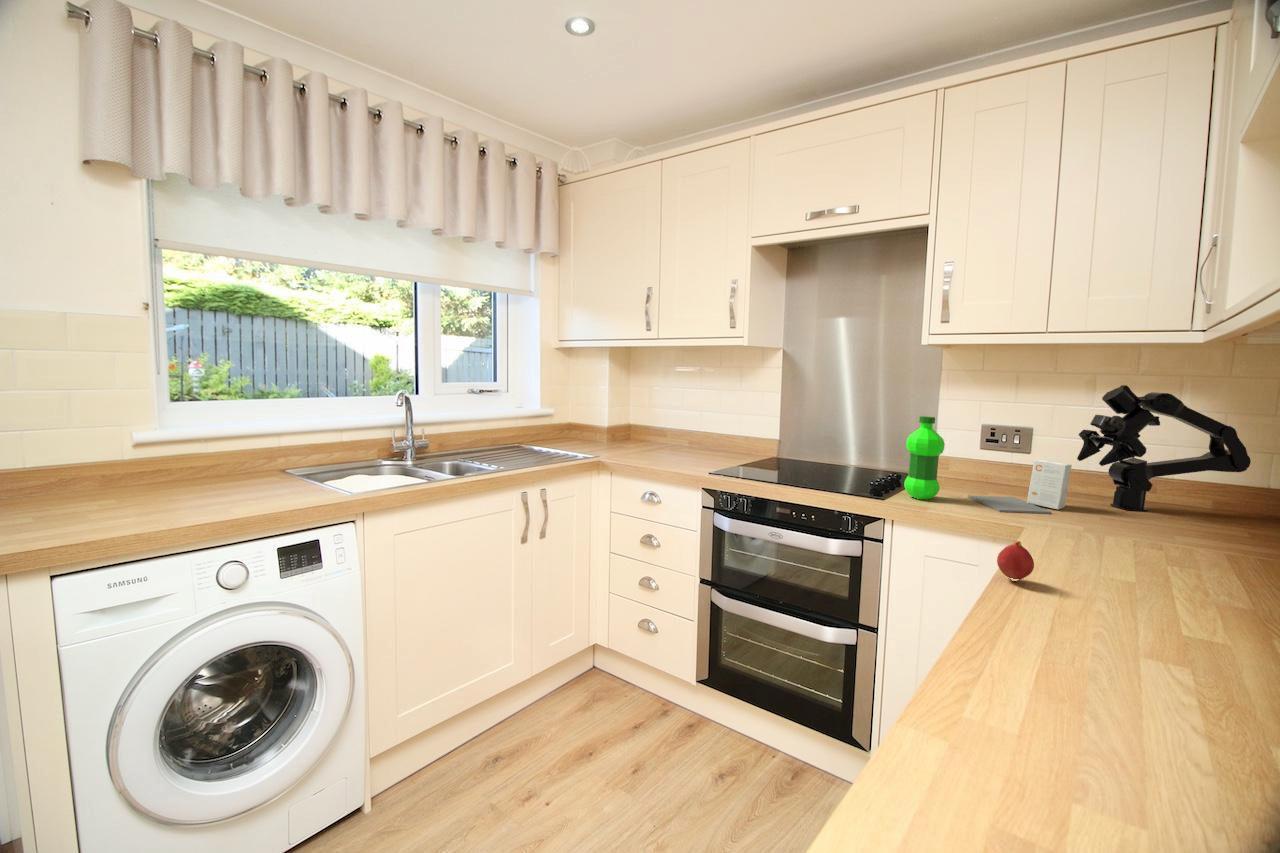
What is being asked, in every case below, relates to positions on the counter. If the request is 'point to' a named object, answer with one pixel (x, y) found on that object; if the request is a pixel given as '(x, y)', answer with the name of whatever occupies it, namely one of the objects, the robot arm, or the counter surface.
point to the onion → (1015, 561)
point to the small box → (1049, 484)
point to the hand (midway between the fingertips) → (1089, 462)
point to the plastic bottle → (924, 460)
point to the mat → (1008, 504)
